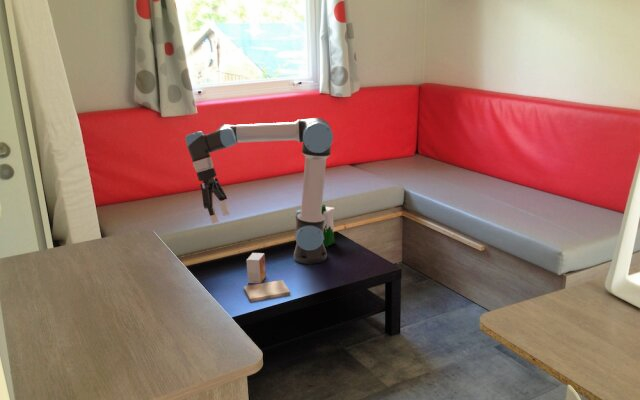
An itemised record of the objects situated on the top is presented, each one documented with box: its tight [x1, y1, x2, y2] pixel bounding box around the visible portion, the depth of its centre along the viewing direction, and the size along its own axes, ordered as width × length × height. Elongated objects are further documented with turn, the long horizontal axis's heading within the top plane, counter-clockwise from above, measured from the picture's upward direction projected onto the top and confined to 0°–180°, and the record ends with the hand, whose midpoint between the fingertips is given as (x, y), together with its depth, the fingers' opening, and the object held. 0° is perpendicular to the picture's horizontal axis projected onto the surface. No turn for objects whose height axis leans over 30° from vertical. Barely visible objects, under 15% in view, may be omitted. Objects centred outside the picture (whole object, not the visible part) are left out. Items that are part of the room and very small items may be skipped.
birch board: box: [243, 279, 291, 303], centre depth 219 cm, size 16×12×1 cm
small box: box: [245, 252, 267, 284], centre depth 229 cm, size 8×6×10 cm
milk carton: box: [322, 204, 335, 248], centre depth 265 cm, size 9×9×20 cm
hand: (221, 218), depth 227 cm, fingers open, 13 cm apart
